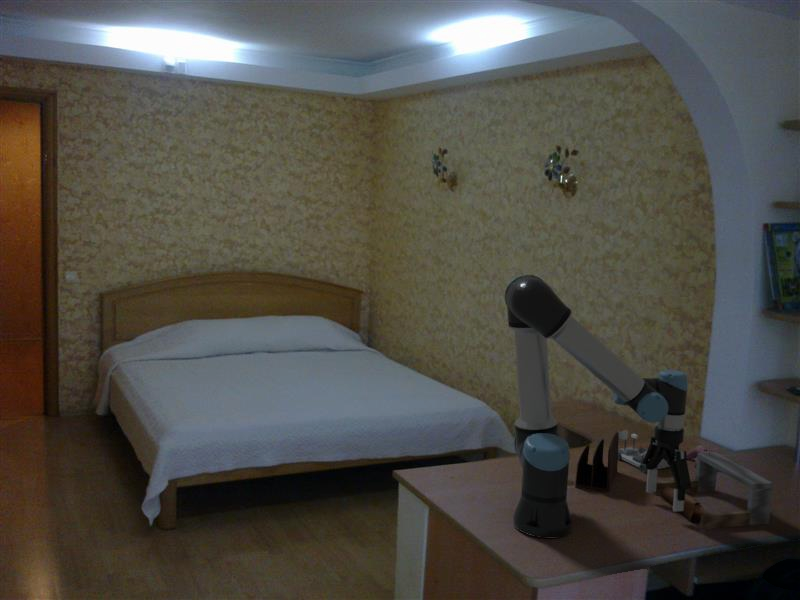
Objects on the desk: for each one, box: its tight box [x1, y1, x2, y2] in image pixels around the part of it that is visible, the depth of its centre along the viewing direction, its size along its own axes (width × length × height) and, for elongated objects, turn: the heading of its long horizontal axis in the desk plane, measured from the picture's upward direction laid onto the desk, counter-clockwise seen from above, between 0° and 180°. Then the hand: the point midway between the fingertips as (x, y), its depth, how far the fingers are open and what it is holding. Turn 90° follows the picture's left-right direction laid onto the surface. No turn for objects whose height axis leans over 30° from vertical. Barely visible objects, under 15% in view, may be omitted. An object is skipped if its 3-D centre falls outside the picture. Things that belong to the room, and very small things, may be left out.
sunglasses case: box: [660, 488, 710, 524], centre depth 219 cm, size 18×7×7 cm
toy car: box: [618, 428, 671, 474], centre depth 256 cm, size 18×10×12 cm
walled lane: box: [651, 451, 774, 530], centre depth 220 cm, size 20×25×12 cm
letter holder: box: [574, 431, 620, 493], centre depth 239 cm, size 10×20×14 cm, turn 158°
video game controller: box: [686, 445, 711, 469], centre depth 256 cm, size 10×5×7 cm, turn 179°
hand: (664, 501), depth 217 cm, fingers open, 13 cm apart
